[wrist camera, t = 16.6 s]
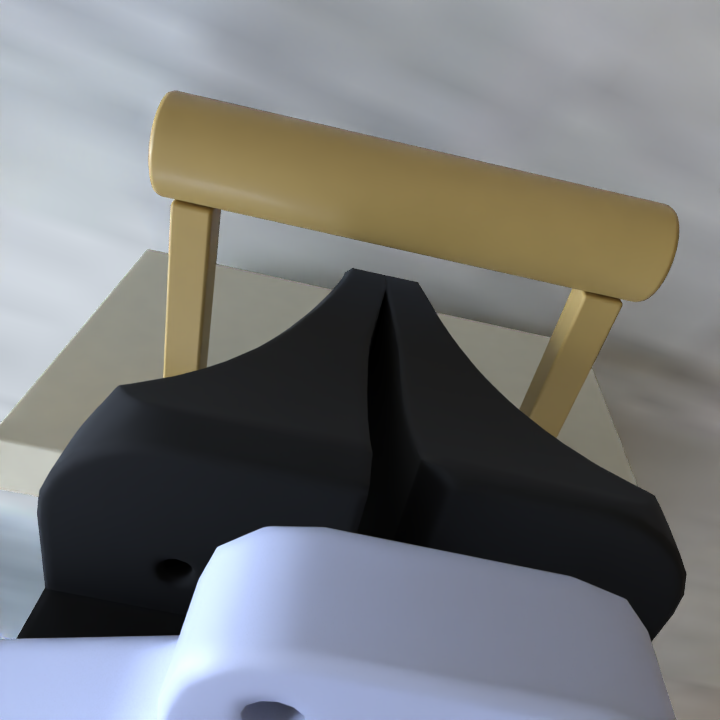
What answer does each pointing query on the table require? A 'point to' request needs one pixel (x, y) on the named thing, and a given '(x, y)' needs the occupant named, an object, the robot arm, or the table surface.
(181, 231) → the drawer
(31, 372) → the table surface
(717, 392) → the table surface
